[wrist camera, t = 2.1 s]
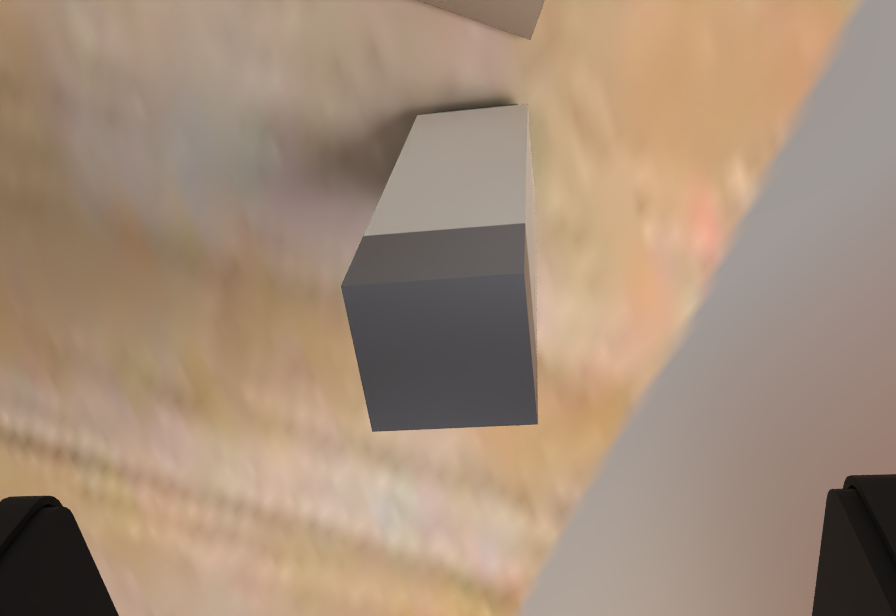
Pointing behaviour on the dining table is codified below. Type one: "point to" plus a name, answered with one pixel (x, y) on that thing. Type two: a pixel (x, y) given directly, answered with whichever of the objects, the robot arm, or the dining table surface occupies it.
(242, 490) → the dining table surface
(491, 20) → the board
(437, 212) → the grey square bar
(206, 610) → the dining table surface
